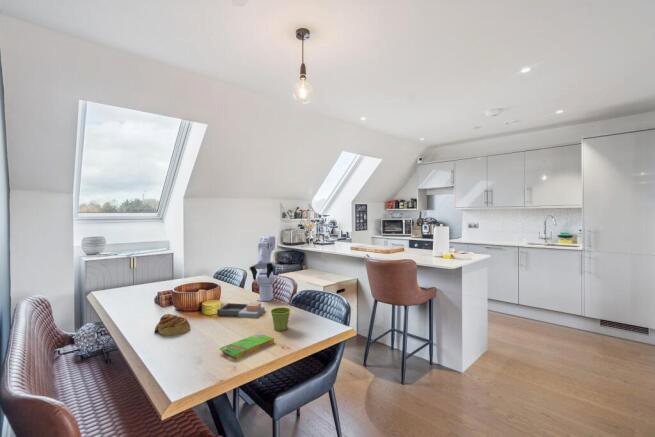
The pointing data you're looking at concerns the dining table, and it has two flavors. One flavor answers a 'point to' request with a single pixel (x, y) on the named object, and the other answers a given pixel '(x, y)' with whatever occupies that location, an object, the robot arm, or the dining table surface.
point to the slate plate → (250, 313)
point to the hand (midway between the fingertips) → (261, 278)
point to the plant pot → (280, 318)
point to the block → (253, 306)
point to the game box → (247, 345)
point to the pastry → (172, 325)
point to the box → (230, 309)
